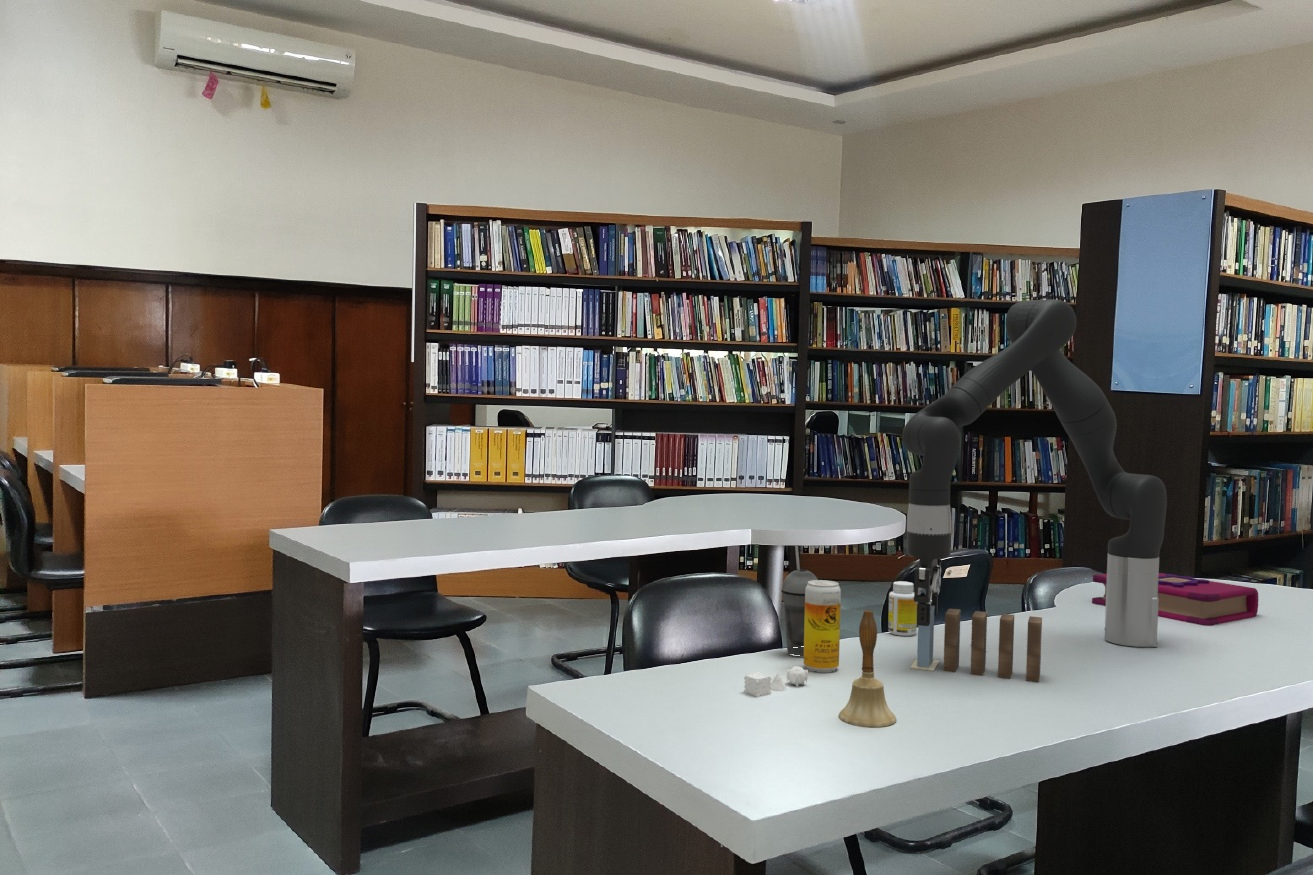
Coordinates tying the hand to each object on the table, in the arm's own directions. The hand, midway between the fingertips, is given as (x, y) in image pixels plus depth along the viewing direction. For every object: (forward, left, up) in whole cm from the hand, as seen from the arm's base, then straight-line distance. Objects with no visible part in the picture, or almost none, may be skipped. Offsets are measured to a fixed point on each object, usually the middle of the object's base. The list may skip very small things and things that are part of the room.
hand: (927, 620), depth 179 cm
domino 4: (-13, 0, -8) cm, 16 cm away
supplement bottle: (+8, -23, -8) cm, 26 cm away
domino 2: (-4, 0, -8) cm, 9 cm away
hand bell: (+3, +35, -8) cm, 36 cm away
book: (-44, -77, -9) cm, 89 cm away
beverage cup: (+22, +3, -8) cm, 24 cm away
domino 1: (0, 0, -8) cm, 8 cm away
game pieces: (+19, +26, -8) cm, 34 cm away
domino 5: (-18, 0, -8) cm, 20 cm away
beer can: (+16, +11, -8) cm, 21 cm away
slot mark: (0, 0, -8) cm, 8 cm away
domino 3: (-9, 0, -8) cm, 12 cm away
